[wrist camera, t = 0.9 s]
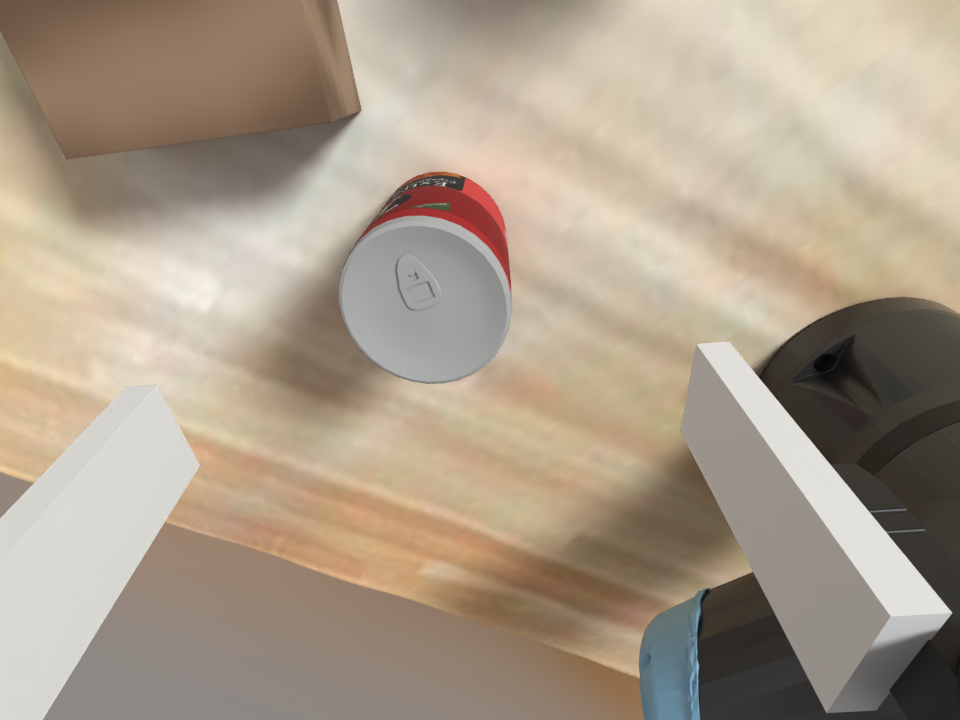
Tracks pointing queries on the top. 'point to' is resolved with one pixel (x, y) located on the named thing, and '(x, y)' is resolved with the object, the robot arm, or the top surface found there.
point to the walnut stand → (179, 68)
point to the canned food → (430, 281)
